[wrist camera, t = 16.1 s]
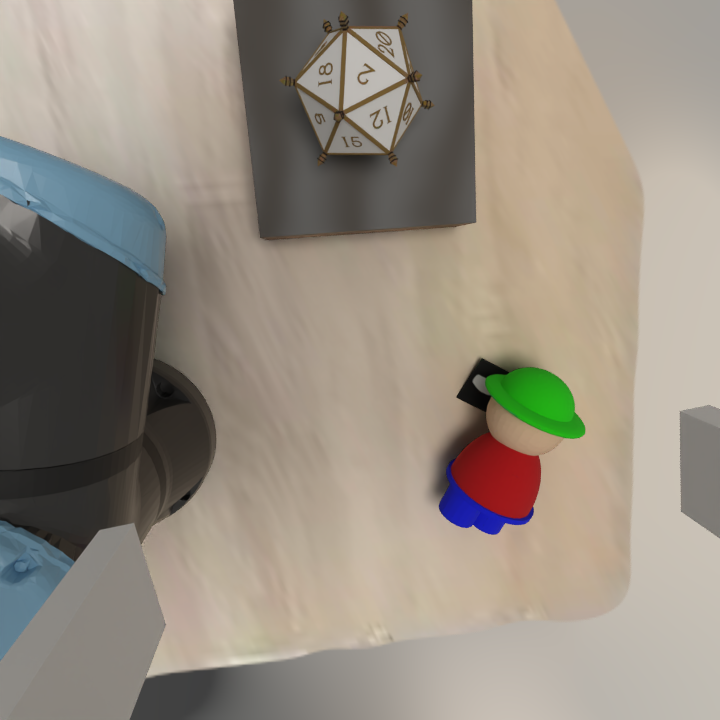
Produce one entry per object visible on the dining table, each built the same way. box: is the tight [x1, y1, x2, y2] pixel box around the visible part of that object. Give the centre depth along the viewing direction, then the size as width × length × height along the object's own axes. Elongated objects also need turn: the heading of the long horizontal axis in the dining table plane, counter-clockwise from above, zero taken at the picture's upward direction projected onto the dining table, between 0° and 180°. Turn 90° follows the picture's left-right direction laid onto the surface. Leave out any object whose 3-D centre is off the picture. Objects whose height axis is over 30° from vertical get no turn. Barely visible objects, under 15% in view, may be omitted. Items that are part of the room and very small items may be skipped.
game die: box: [279, 11, 435, 167], centre depth 30 cm, size 9×8×10 cm
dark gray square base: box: [233, 0, 476, 240], centre depth 36 cm, size 16×16×5 cm
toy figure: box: [439, 359, 585, 535], centre depth 41 cm, size 9×10×15 cm
